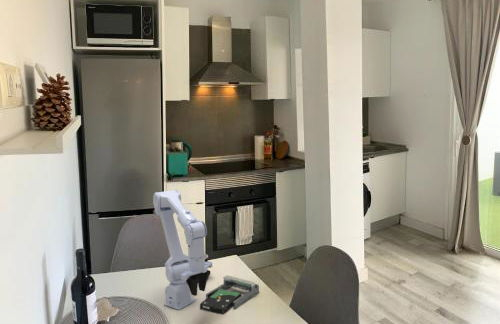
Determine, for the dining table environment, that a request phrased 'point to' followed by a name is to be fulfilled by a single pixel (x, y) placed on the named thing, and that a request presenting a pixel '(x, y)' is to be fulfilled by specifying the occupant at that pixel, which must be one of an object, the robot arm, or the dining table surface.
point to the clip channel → (238, 283)
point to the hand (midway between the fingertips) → (198, 292)
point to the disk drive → (220, 301)
